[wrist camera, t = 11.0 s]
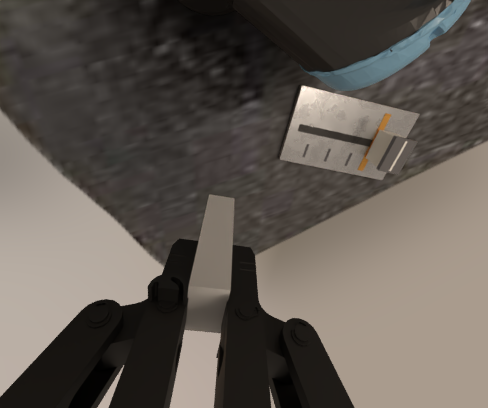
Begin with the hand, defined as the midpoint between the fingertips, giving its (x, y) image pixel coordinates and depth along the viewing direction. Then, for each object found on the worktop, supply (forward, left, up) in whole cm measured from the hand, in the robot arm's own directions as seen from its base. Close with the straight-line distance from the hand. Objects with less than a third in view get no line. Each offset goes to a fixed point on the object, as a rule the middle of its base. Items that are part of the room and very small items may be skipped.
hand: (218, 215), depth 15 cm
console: (-1, +19, -29) cm, 35 cm away
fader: (-1, +26, -27) cm, 38 cm away
